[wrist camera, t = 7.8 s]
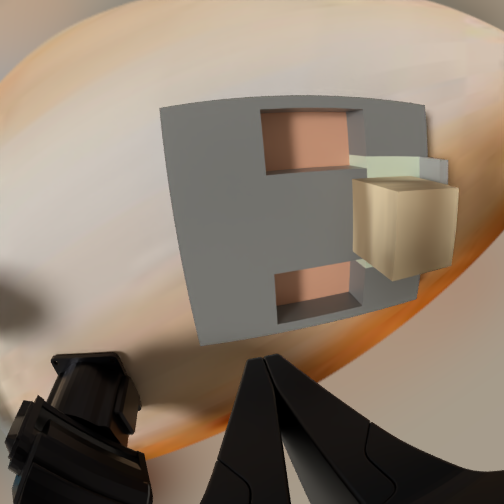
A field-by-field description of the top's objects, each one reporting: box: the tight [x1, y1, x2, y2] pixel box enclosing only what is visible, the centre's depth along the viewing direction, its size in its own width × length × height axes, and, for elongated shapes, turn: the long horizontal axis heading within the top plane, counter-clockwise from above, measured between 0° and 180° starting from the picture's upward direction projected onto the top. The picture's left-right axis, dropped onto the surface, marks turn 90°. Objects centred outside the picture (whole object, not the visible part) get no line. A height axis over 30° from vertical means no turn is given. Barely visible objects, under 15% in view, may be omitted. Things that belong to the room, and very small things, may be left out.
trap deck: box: [160, 95, 448, 346], centre depth 17 cm, size 16×14×4 cm
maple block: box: [352, 176, 459, 281], centre depth 15 cm, size 4×4×4 cm
